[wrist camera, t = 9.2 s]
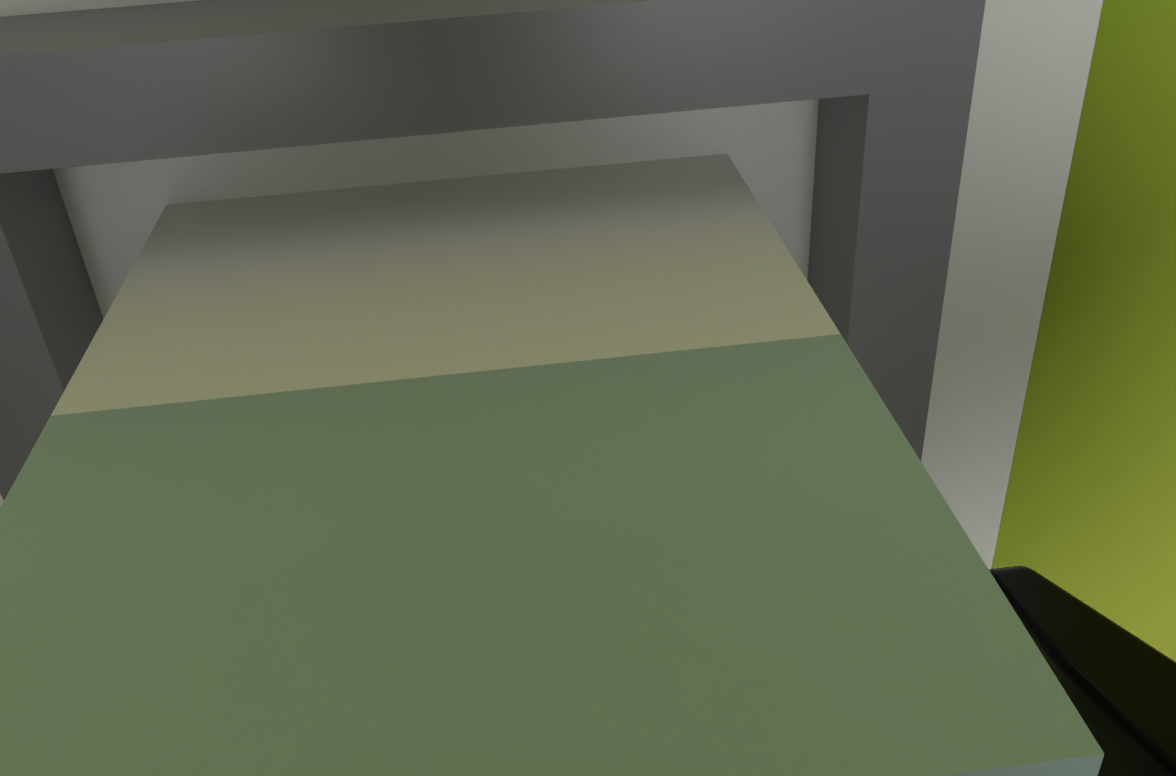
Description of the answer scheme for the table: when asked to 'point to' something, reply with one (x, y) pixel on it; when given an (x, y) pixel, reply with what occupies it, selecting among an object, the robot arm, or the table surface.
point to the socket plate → (575, 158)
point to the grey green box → (497, 508)
